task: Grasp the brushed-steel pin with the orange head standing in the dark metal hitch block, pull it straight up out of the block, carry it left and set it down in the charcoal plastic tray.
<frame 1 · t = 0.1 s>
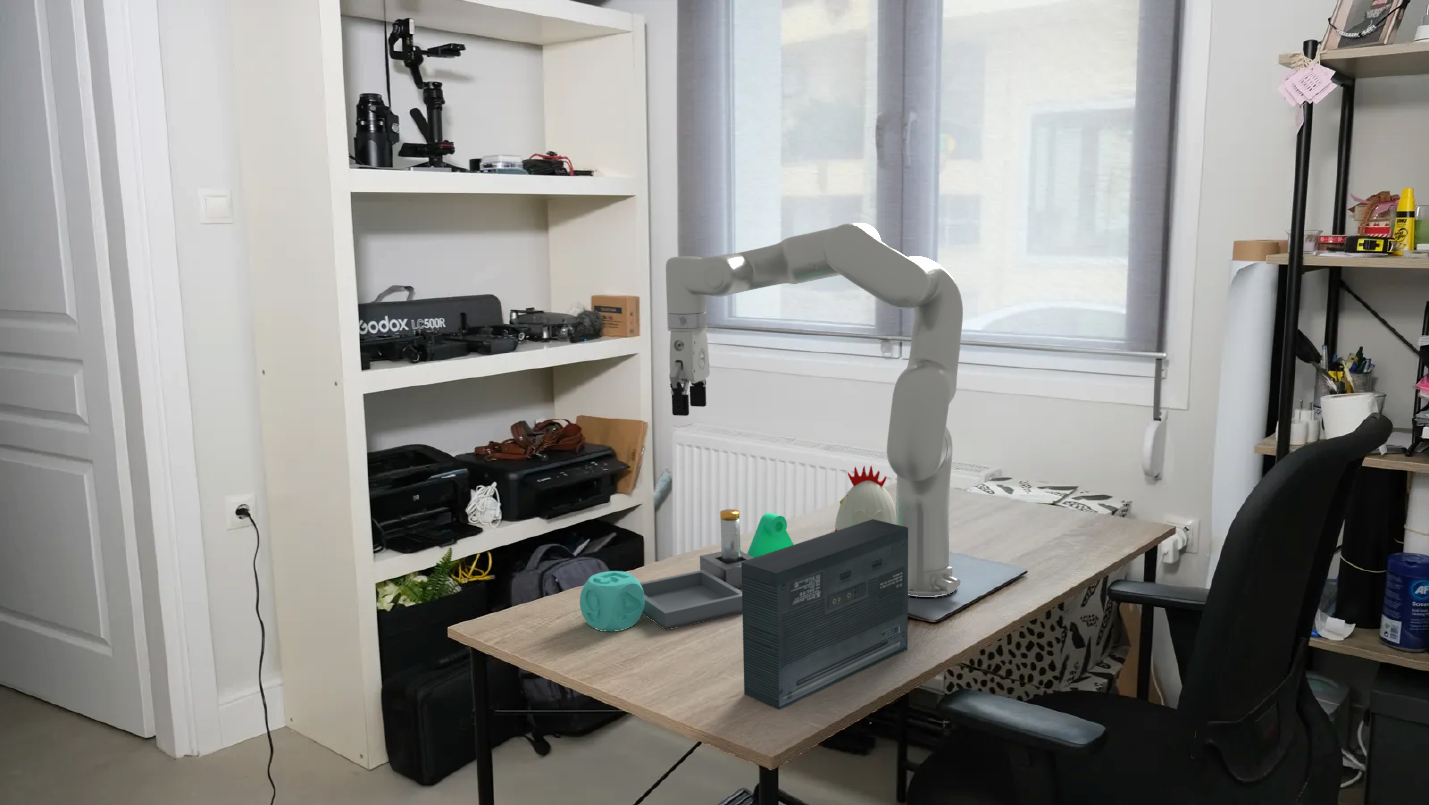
hand: (689, 410, 207), 31 cm above the table, tool pointing down, fingers open, 9 cm apart
decorative dice: (613, 624, 183), on the table
cassette player: (829, 672, 162), on the table
green mounting bracket: (781, 568, 210), on the table
hitch block: (731, 579, 203), on the table
kitchen timer: (867, 535, 230), on the table
tray: (685, 606, 190), on the table
pin: (730, 545, 202), in the hitch block
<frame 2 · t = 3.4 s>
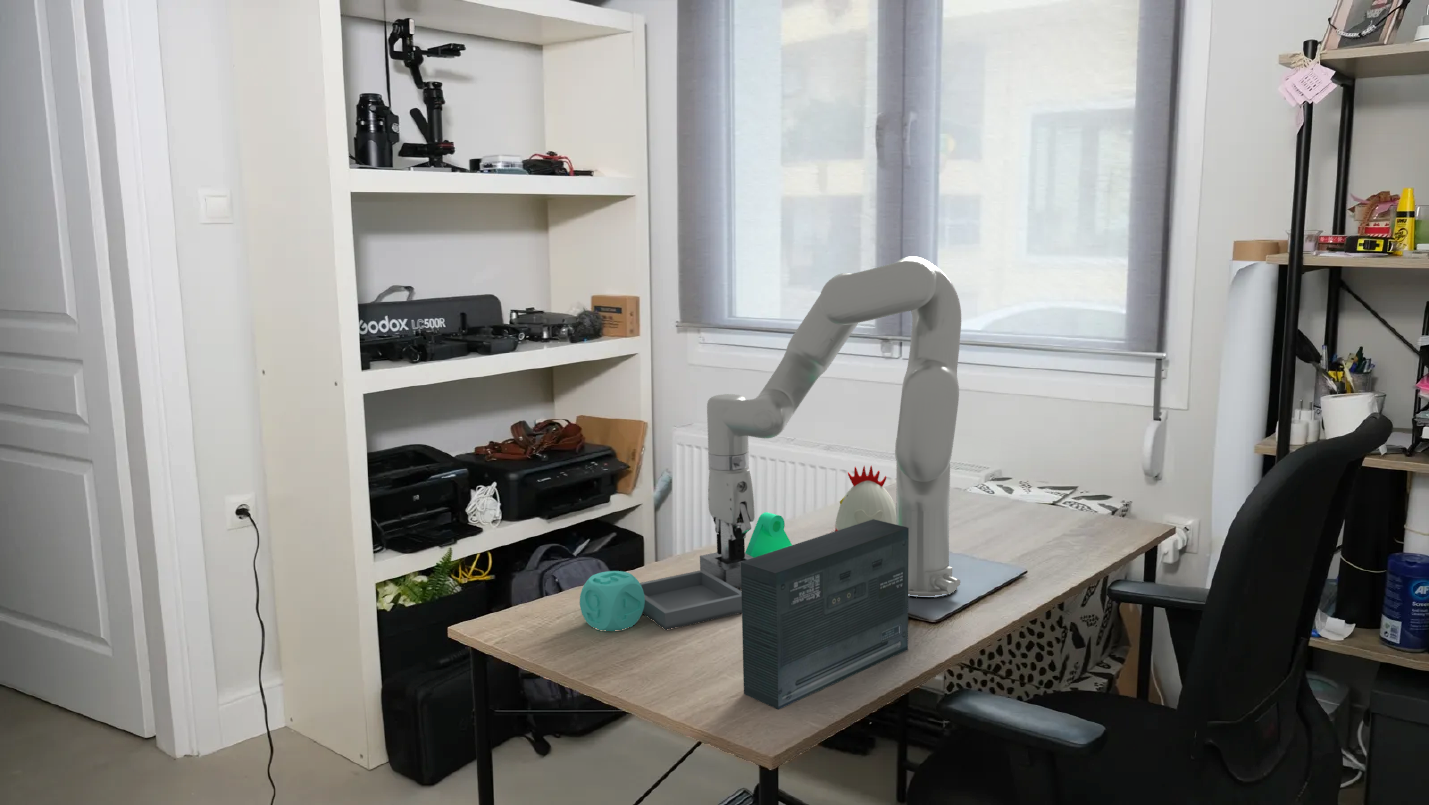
hand: (730, 555, 202), 5 cm above the table, tool pointing down, fingers closed on pin, 3 cm apart
pin: (730, 545, 202), in the hitch block, touching gripper
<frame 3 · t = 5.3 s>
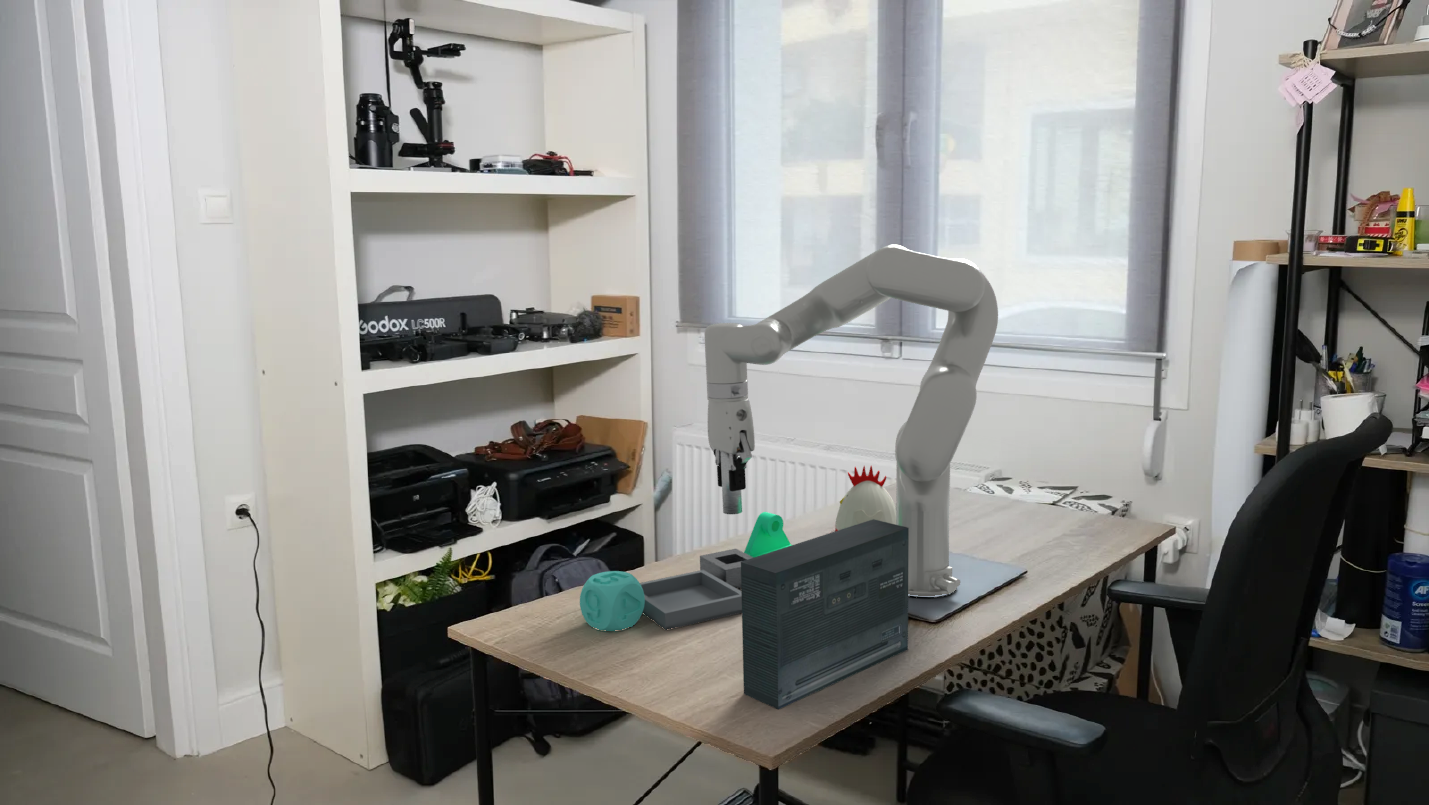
hand: (731, 486, 200), 18 cm above the table, tool pointing down, fingers closed on pin, 3 cm apart
pin: (731, 477, 200), point 20 cm above the table, touching gripper
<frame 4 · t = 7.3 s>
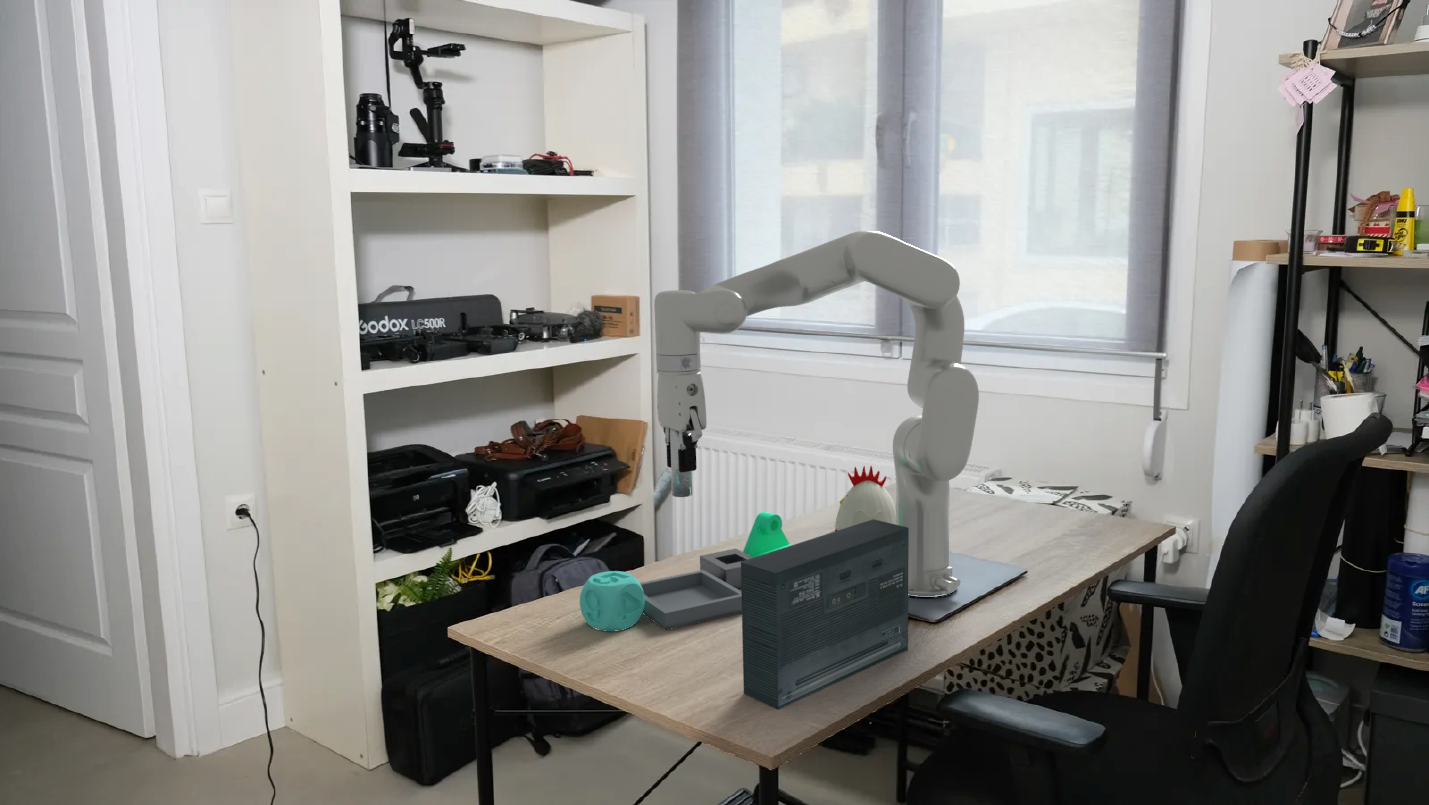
hand: (681, 467, 185), 25 cm above the table, tool pointing down, fingers closed on pin, 3 cm apart
pin: (681, 457, 185), point 27 cm above the table, touching gripper
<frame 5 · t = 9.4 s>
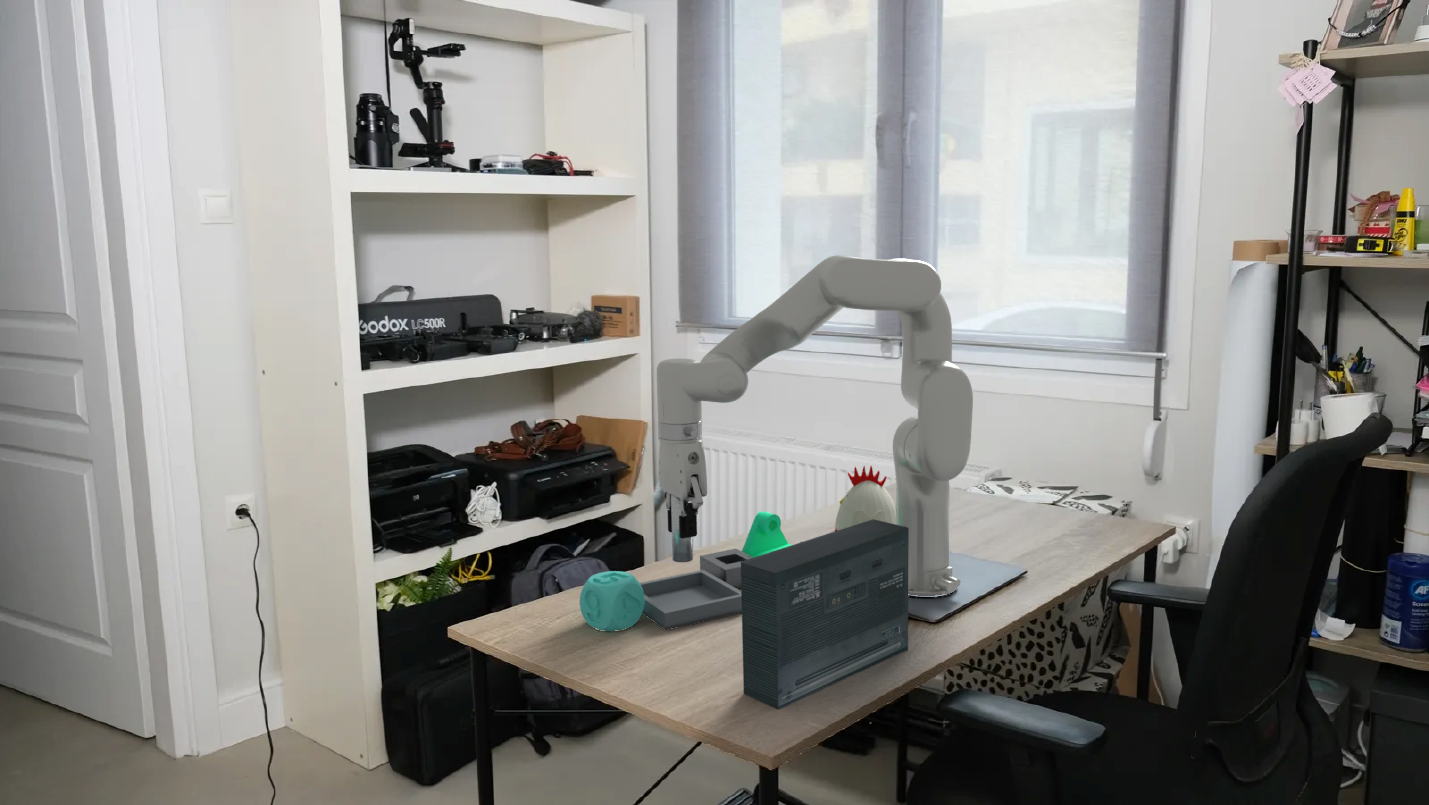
hand: (682, 532, 187), 14 cm above the table, tool pointing down, fingers closed on pin, 3 cm apart
pin: (681, 522, 187), point 15 cm above the table, touching gripper
when the fingers open (6 cm above the table, at t = 11.1 s): pin stays where it is, resting on tray.
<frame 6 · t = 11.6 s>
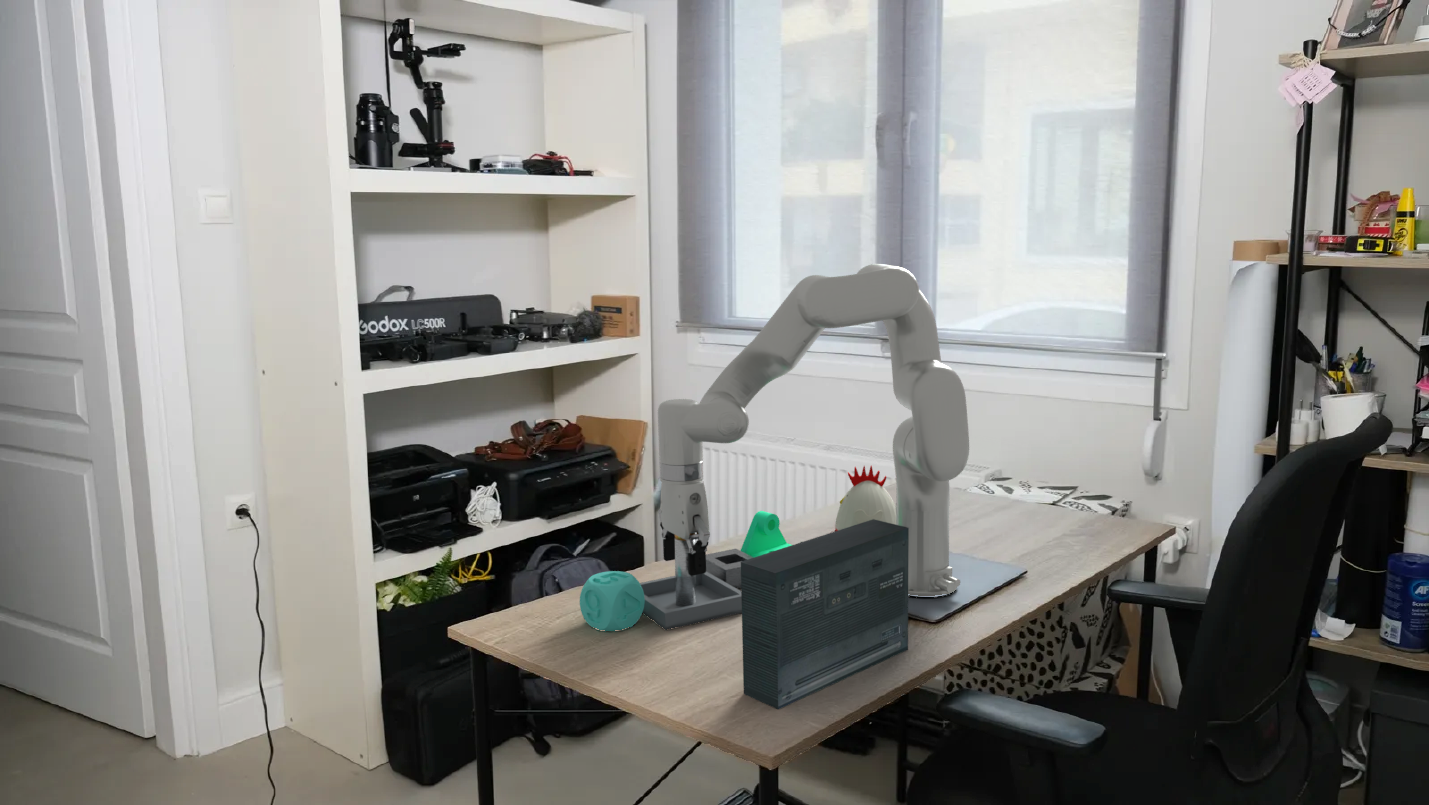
hand: (684, 566, 188), 7 cm above the table, tool pointing down, fingers open, 9 cm apart
pin: (685, 567, 189), in the tray, point 7 cm above the table
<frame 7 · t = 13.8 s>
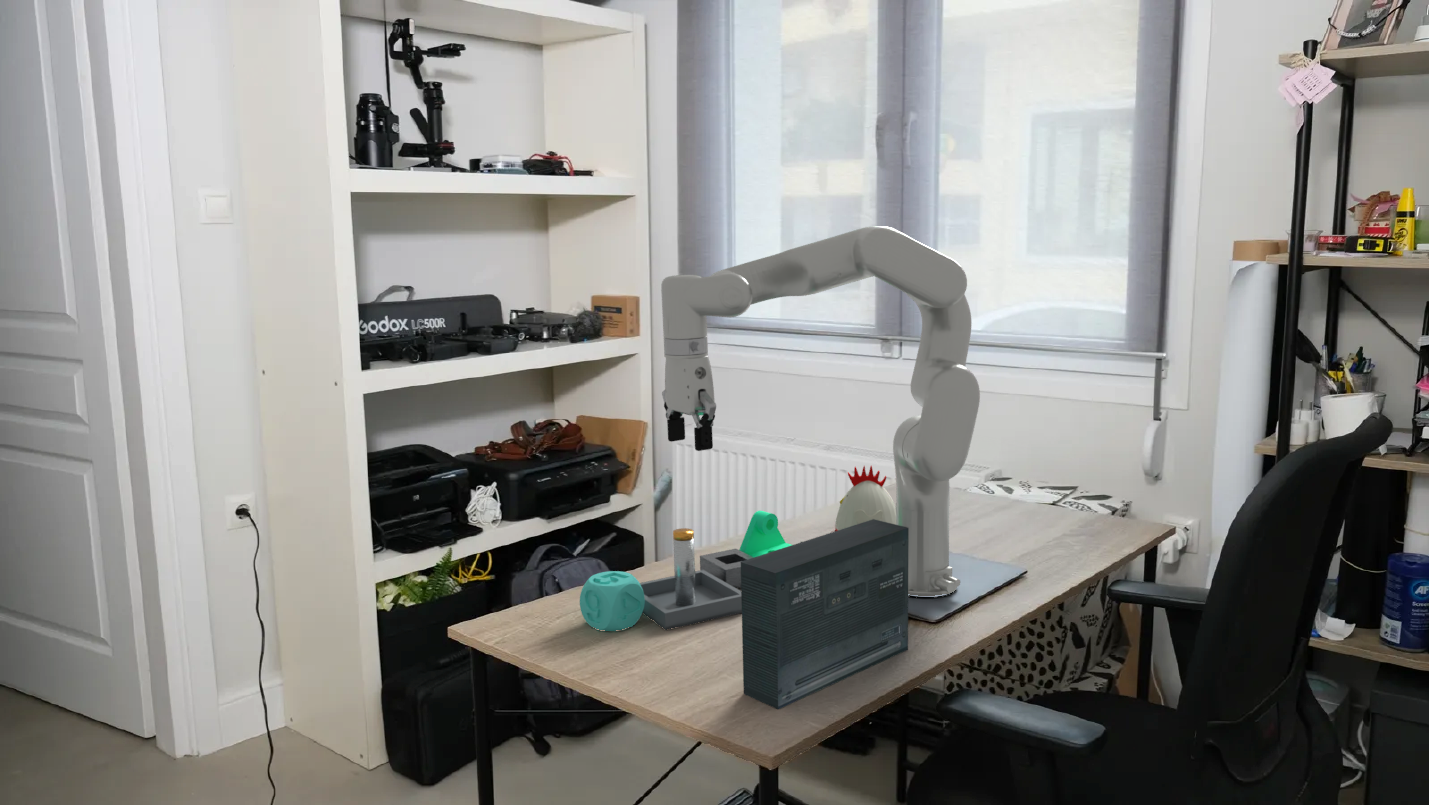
hand: (690, 444, 187), 29 cm above the table, tool pointing down, fingers open, 9 cm apart
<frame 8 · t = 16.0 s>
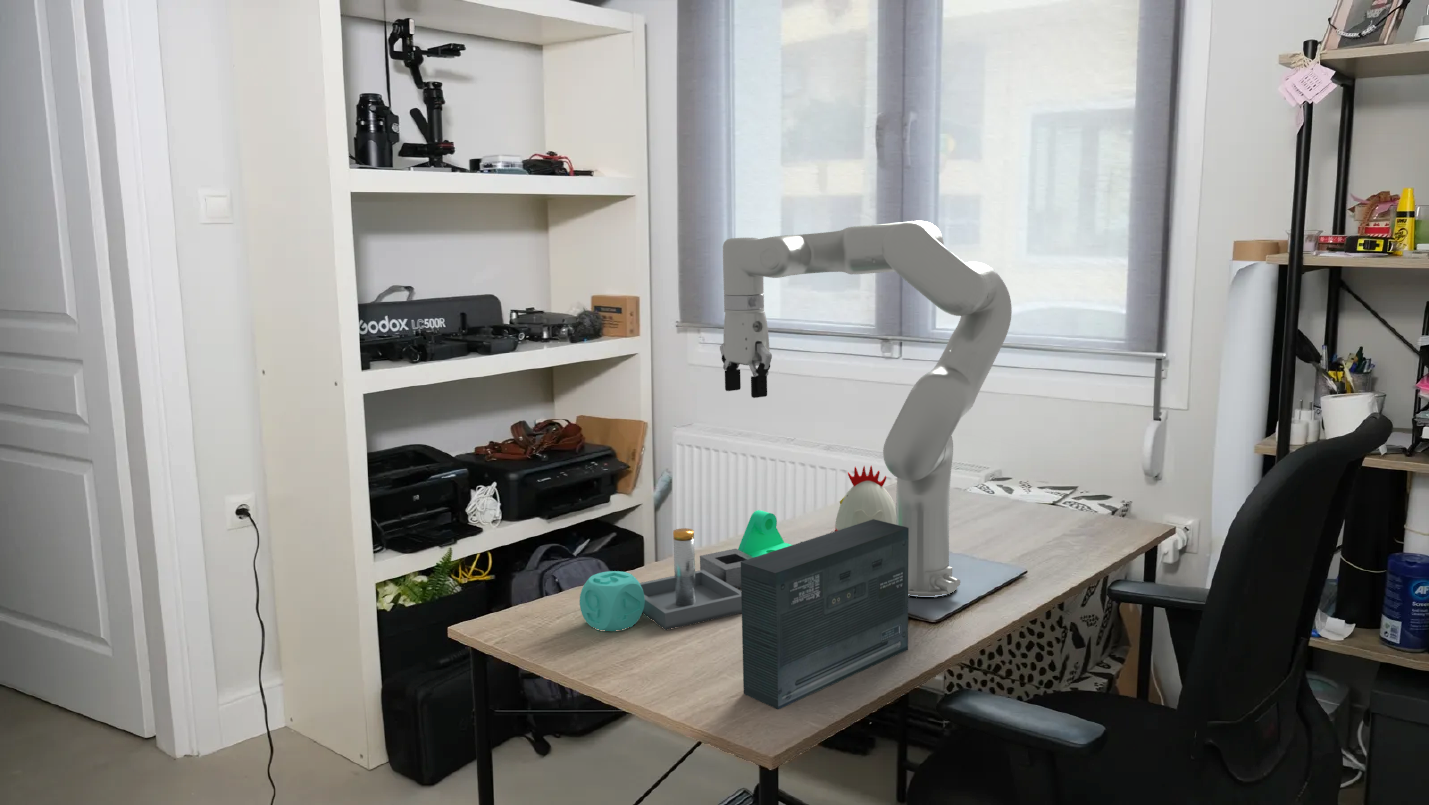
hand: (745, 393, 205), 34 cm above the table, tool pointing down, fingers open, 9 cm apart
at the end: pin inside the target area on the tray (0.0 cm from its centre), point 7.2 cm above the tray's base; pin touching tray; the gripper is holding nothing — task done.
